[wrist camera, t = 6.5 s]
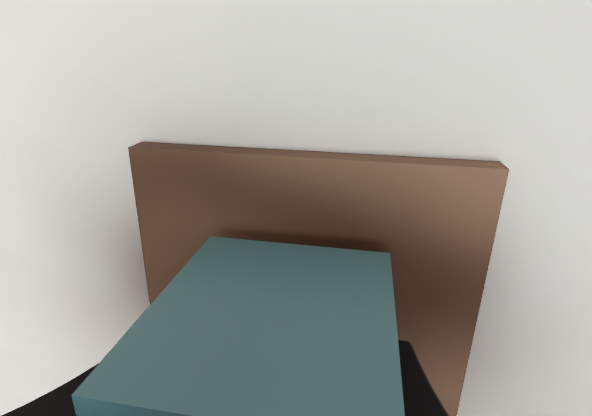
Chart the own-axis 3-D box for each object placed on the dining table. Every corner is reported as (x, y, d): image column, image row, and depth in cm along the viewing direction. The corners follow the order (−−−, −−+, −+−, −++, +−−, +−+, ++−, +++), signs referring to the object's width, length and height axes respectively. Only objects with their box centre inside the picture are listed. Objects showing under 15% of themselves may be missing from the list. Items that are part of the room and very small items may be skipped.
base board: (417, 567, 18) (419, 589, 18) (189, 520, 20) (182, 537, 19) (500, 161, 11) (508, 169, 11) (142, 142, 13) (128, 147, 12)
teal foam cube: (374, 396, 13) (375, 650, 8) (219, 374, 14) (118, 587, 8) (390, 253, 11) (407, 450, 6) (210, 236, 12) (71, 395, 6)
